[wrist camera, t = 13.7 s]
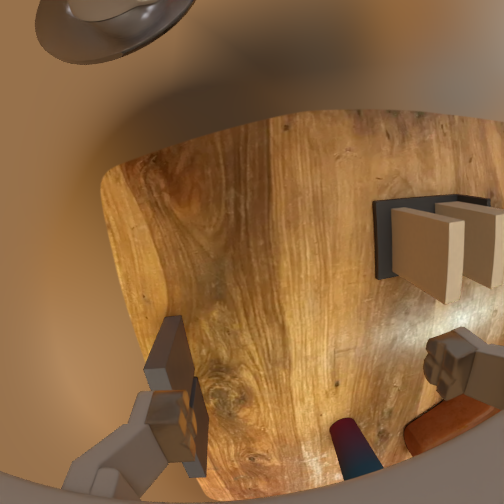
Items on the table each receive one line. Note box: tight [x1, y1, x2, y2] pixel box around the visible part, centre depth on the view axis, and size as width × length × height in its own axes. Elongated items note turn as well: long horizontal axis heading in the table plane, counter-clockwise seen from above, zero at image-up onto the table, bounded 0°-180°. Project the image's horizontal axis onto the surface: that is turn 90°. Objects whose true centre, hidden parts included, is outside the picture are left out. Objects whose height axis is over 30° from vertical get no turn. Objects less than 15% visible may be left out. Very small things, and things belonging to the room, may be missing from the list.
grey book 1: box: [143, 315, 194, 403], centre depth 36 cm, size 9×2×13 cm, turn 7°
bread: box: [404, 394, 501, 457], centre depth 44 cm, size 14×33×16 cm, turn 117°
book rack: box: [373, 194, 504, 289], centre depth 35 cm, size 11×16×14 cm
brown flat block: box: [391, 207, 465, 304], centre depth 34 cm, size 9×2×13 cm, turn 7°
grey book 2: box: [182, 377, 209, 478], centre depth 39 cm, size 9×2×13 cm, turn 7°
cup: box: [330, 418, 383, 481], centre depth 42 cm, size 7×7×15 cm
